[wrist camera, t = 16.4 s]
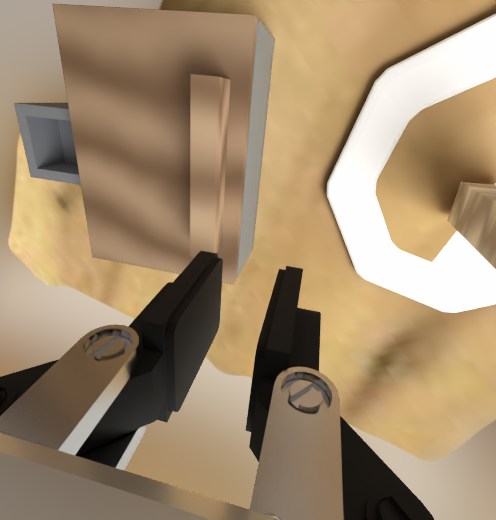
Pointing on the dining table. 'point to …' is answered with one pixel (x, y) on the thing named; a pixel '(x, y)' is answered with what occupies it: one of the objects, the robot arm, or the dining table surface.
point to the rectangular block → (476, 217)
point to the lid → (159, 130)
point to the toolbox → (64, 154)
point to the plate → (376, 155)
